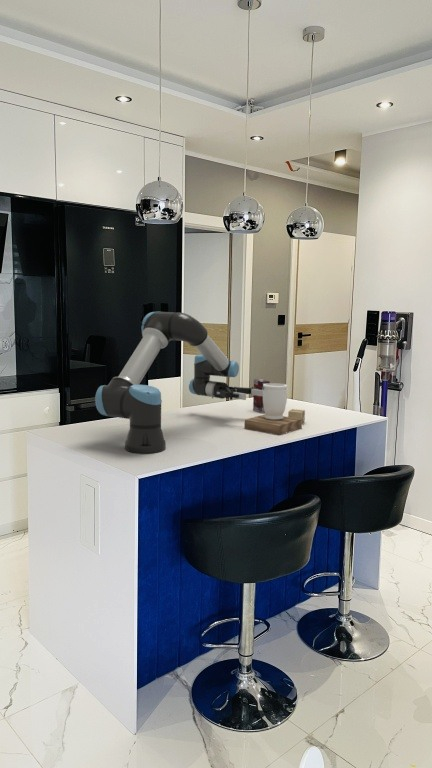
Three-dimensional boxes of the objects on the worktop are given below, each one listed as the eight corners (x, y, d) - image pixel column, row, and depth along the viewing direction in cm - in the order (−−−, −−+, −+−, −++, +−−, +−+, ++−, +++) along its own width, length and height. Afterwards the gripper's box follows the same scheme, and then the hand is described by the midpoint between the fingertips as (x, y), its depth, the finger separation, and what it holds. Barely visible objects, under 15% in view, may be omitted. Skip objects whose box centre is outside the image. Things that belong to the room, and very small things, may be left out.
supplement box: (252, 410, 304) (253, 379, 302) (260, 409, 306) (261, 378, 304) (260, 413, 297) (261, 381, 294) (269, 412, 299) (270, 381, 296)
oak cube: (300, 425, 271) (301, 412, 270) (288, 424, 273) (288, 411, 272) (304, 423, 276) (304, 410, 276) (291, 421, 279) (292, 409, 278)
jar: (268, 421, 259) (269, 386, 257) (258, 416, 268) (259, 383, 266) (290, 419, 263) (291, 385, 261) (279, 415, 273) (280, 382, 270)
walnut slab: (279, 435, 251) (279, 425, 251) (244, 428, 262) (244, 419, 262) (301, 428, 265) (301, 419, 265) (267, 422, 276) (267, 413, 276)
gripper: (233, 394, 292) (270, 399, 278) (200, 401, 272) (237, 407, 259) (234, 379, 290) (270, 383, 277) (200, 384, 271) (237, 389, 258)
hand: (254, 395), depth 268 cm, fingers open, 13 cm apart
